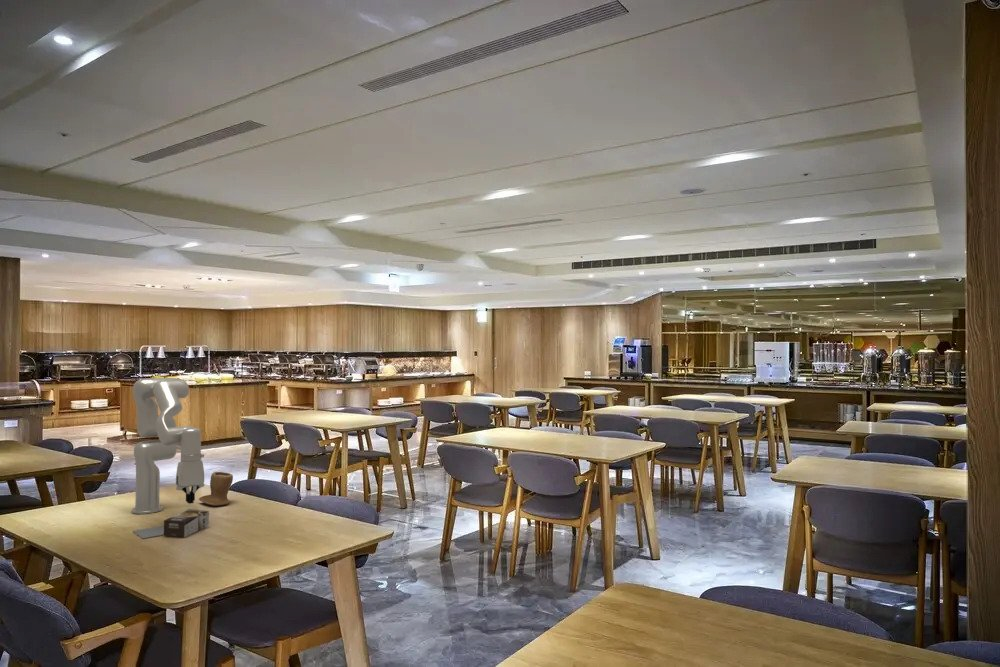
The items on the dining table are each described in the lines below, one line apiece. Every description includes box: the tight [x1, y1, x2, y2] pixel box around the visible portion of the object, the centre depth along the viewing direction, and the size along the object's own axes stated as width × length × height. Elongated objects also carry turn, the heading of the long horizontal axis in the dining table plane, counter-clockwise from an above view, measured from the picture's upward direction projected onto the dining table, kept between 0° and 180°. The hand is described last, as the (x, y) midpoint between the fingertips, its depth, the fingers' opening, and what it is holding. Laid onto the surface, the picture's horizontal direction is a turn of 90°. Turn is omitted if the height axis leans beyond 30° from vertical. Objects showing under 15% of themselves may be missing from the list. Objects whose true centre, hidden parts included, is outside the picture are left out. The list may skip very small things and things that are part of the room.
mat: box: [132, 525, 164, 540], centre depth 261 cm, size 14×18×1 cm
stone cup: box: [198, 471, 234, 507], centre depth 307 cm, size 15×12×15 cm
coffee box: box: [163, 508, 210, 539], centre depth 260 cm, size 9×6×16 cm
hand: (190, 502), depth 268 cm, fingers closed
